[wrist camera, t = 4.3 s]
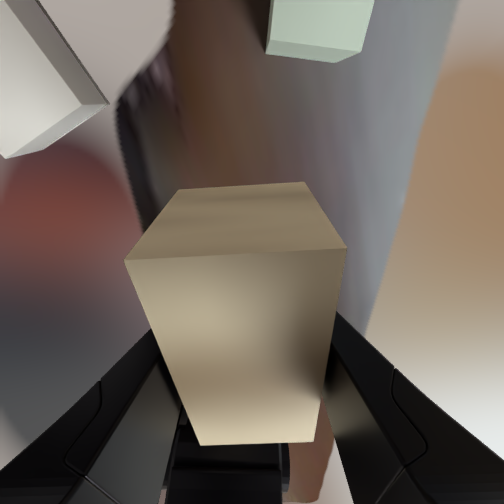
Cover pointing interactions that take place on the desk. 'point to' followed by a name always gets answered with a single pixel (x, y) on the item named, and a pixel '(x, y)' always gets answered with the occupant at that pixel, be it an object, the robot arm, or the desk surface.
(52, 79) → the white brick
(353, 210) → the desk surface
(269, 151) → the desk surface
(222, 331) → the birch brick
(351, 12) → the sage brick
